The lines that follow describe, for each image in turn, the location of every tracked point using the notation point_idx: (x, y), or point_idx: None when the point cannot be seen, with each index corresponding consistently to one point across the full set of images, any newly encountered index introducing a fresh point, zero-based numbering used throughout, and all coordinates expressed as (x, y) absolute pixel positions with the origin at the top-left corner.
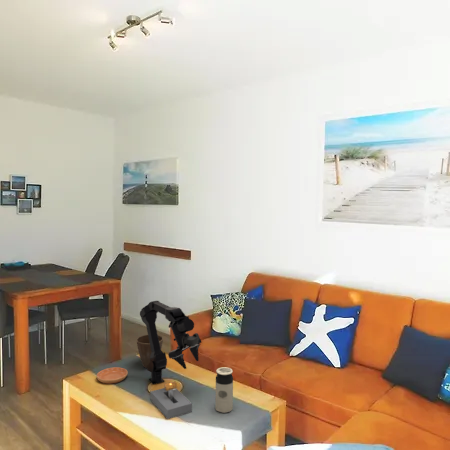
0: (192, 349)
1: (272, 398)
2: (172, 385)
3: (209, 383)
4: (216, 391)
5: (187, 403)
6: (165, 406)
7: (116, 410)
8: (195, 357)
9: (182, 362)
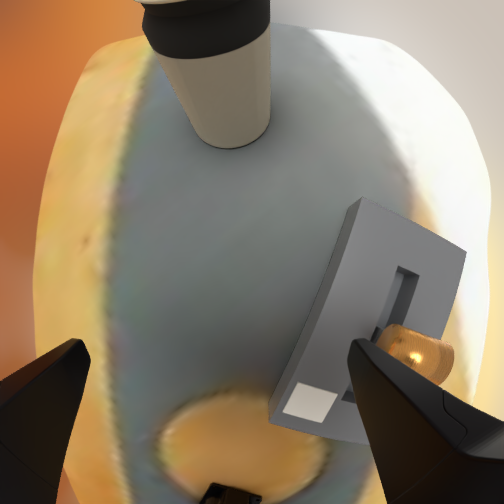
0: (22, 492)
1: (87, 70)
2: (426, 338)
3: (86, 318)
4: (265, 72)
5: (379, 215)
6: (454, 284)
7: None
8: (68, 395)
9: (443, 399)
